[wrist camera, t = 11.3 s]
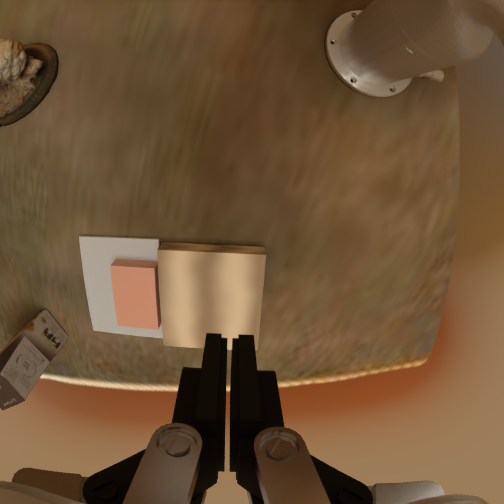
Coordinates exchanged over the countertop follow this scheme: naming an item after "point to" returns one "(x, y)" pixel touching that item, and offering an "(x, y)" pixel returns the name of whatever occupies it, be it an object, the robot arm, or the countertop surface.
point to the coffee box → (28, 357)
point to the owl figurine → (24, 77)
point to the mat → (99, 277)
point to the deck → (209, 292)
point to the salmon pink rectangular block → (136, 293)
